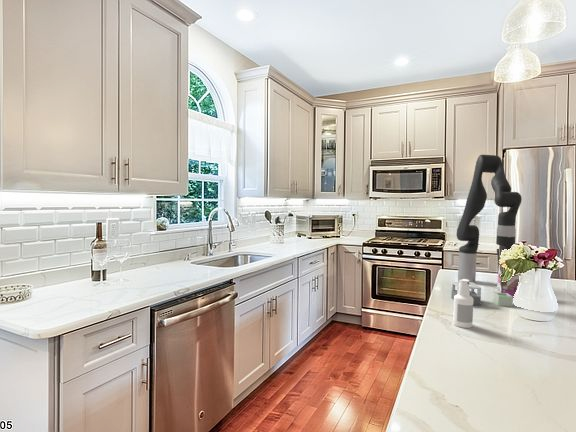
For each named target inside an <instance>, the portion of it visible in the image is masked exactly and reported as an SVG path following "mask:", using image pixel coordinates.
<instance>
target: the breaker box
mask: <svg viewBox="0 0 576 432" xmlns="http://www.w3.org/2000/svg"><path fill="white" fill-rule="evenodd" d="M459 283H460V282H459V281H453V280H452V281H451V294H450V296H451V298H450V299H452V300H453V301H454V296H455V295H457V294H458V290H459ZM469 286H470V296H471V297H472V298H473V299H474V300H473V306H481V302H482V298H481V297H482V287H481V286H479V285H478V284H477V283H476V282H475V283H474V282H469ZM475 290H476V291H477V292H475Z"/></svg>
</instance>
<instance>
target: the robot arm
mask: <svg viewBox="0 0 576 432" xmlns="http://www.w3.org/2000/svg"><path fill="white" fill-rule="evenodd" d="M483 173H485V174H486V173H489V174H494V175H493V176H492V178H491V180H490V184H491V187H492V190H493V192H494V204H495V205H496V206H498V208H509V209H508V210H507V211H503V212H500V213H498V215H497V228H496V237H495V238H496V241H495V244H496V245H498V246H499V247H498V248H497V249H496V254H497V261H498V262H500V261H499V259H500V255H501V252H502V250H504V249H507V250H508V249H510V248H511V249H512V247H513V246H512V245H513V244H515V245H516V238H517V237H516V236H517V234H516V233H517V229H516V227H517V226H516V223H517V222H516V221H517V215H518V212H519V209H520V206H521V204H522V200H523V199H522V195H521V194H520V193H519V192H517V191H512V186H511V184H510V182H509V181H508V178H507V177H506V173H505V169H504V165H503V161H502V158H501V157H500V156H499V155H492V154H480V155H478V157H477V158H476V161H475V166H474V172H473V175H472V176H473V177H472V181H471V184H470V185H471V186H470V188H469V191H468V195H467V198H466V202H465V206H464V209H463V213H462V216H461V218H460V221H459V223H458V227H457V228H456V239H457V240H458V241H460V242H466V244H464V245H461V246H460V247H459V249H458V271H457V282H460V280H462V279H467V280H469V282H474V283H475V284H476V280H477V279H476V276H477V254H478V248H479V243H480V242H479V241H480V240H479V239H480V229H479V227H478V226H477V225H476V224H475V225H474V224H471V223H472V221H473V219H475V217H476V216H477V215H478V214H480V212H482V210H483V209H484V208H485V205H486V201H487V199H488V194H487V191H486V188H485V186H484V183H483V179H482V178H483ZM500 271H501V266H500Z"/></svg>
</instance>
